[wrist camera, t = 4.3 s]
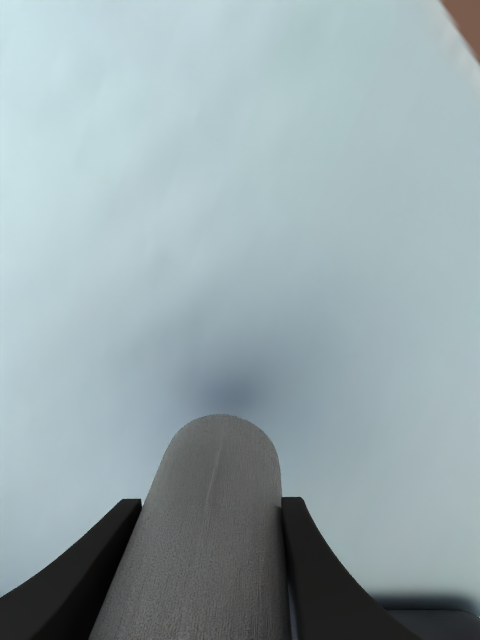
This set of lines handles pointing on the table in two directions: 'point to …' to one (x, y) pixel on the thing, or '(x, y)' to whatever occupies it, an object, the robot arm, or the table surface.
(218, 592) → the planter
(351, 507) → the table surface
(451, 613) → the pencil case
